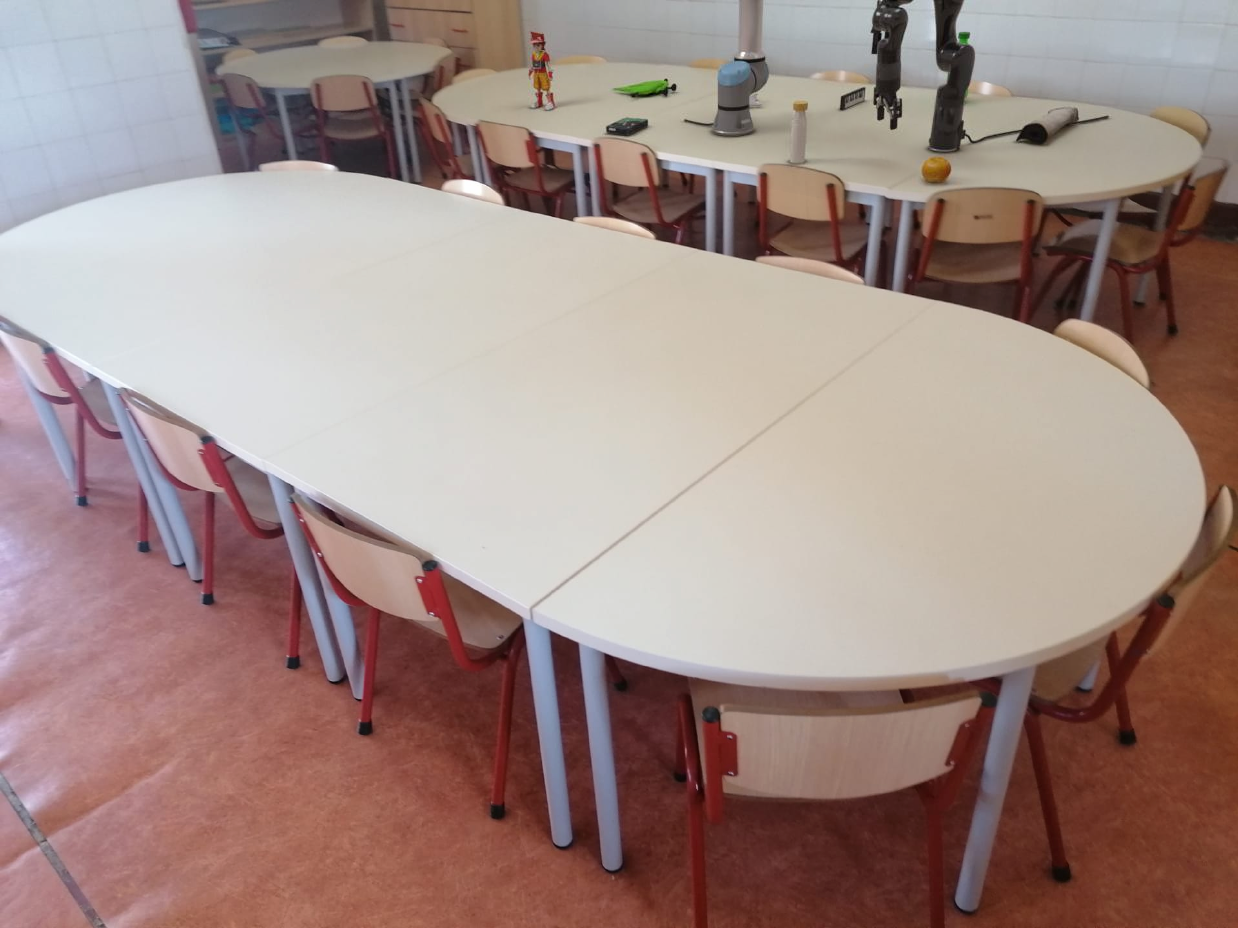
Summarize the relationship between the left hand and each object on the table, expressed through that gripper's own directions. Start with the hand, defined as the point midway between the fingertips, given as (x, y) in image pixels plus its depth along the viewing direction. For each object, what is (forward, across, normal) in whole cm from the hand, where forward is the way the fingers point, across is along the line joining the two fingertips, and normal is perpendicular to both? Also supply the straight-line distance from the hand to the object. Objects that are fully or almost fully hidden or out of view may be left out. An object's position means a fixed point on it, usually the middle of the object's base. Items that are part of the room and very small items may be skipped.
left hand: (881, 50), depth 308 cm
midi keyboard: (+28, +38, +20) cm, 51 cm away
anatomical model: (+28, +26, +61) cm, 72 cm away
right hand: (+16, -31, -13) cm, 38 cm away
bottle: (+28, -40, +13) cm, 51 cm away
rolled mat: (+28, +20, -56) cm, 65 cm away
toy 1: (+28, -6, +142) cm, 144 cm away
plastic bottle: (+28, +54, -16) cm, 63 cm away
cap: (+9, -40, +13) cm, 44 cm away
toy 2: (+28, +32, +114) cm, 122 cm away
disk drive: (+28, -25, +88) cm, 96 cm away
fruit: (+28, -45, -34) cm, 63 cm away
